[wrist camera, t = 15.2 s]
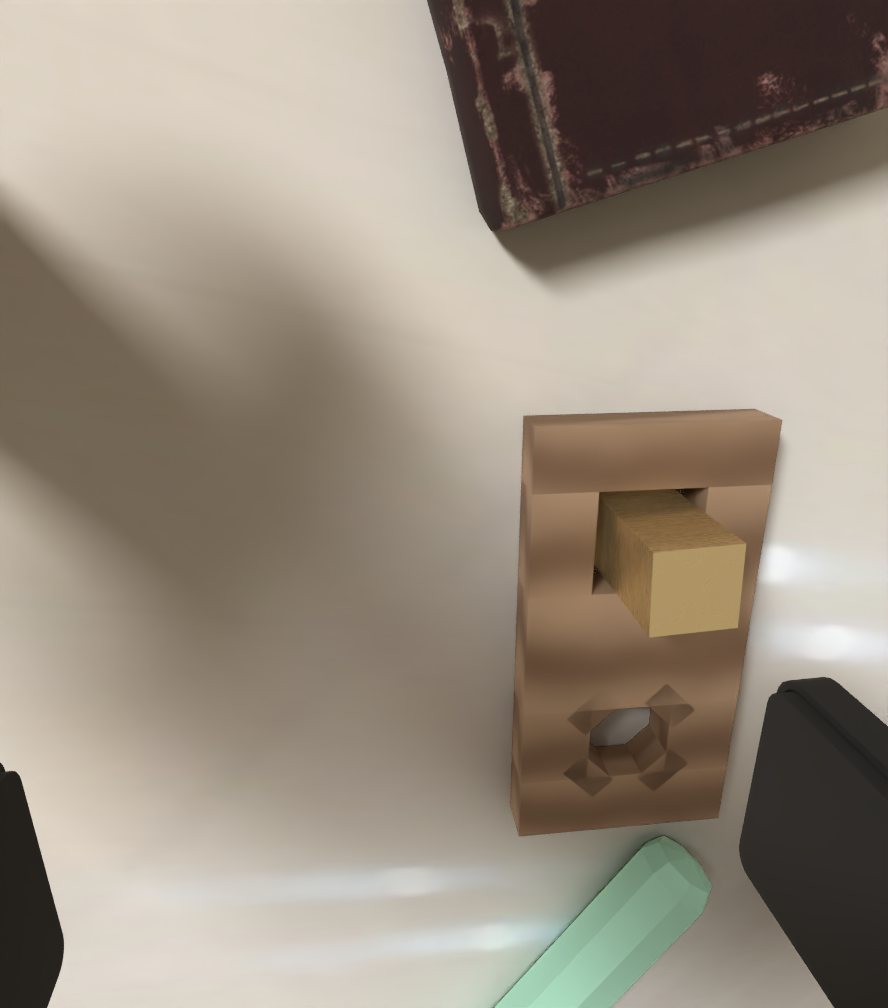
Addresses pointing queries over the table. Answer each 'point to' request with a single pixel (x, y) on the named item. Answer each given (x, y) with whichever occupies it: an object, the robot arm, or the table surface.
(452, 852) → the table surface
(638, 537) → the square peg
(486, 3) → the diary
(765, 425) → the socket block
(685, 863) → the mint green tapered bar
